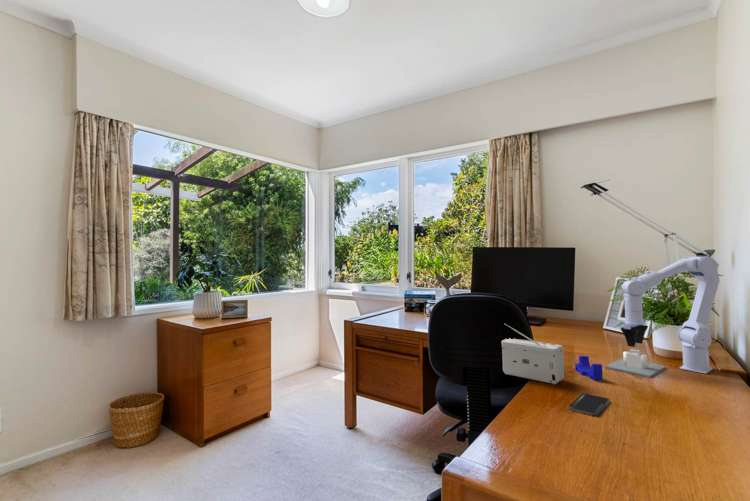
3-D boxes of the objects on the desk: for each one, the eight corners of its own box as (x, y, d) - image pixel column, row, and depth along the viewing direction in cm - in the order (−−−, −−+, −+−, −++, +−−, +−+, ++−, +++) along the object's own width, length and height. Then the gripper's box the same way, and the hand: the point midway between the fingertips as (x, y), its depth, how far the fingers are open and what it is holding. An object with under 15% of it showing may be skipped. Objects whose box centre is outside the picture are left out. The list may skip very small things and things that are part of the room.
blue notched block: (575, 370, 142) (574, 355, 142) (587, 370, 142) (586, 355, 142) (589, 381, 130) (588, 364, 131) (602, 381, 130) (602, 364, 130)
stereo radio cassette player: (565, 380, 131) (563, 325, 132) (558, 386, 125) (556, 329, 126) (509, 369, 146) (507, 320, 146) (500, 374, 140) (498, 323, 140)
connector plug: (625, 363, 146) (624, 347, 147) (648, 367, 140) (648, 351, 140) (622, 364, 145) (621, 348, 145) (646, 369, 138) (645, 352, 138)
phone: (567, 407, 107) (582, 392, 118) (567, 411, 107) (583, 396, 117) (597, 415, 101) (611, 398, 112) (598, 419, 101) (611, 402, 112)
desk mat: (622, 360, 153) (622, 358, 153) (665, 368, 141) (665, 366, 141) (604, 368, 144) (604, 366, 144) (649, 377, 131) (649, 375, 131)
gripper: (629, 307, 150) (630, 340, 150) (614, 311, 142) (616, 345, 142) (649, 309, 144) (651, 343, 144) (635, 313, 136) (637, 349, 136)
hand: (635, 344), depth 142 cm, fingers open, 7 cm apart
